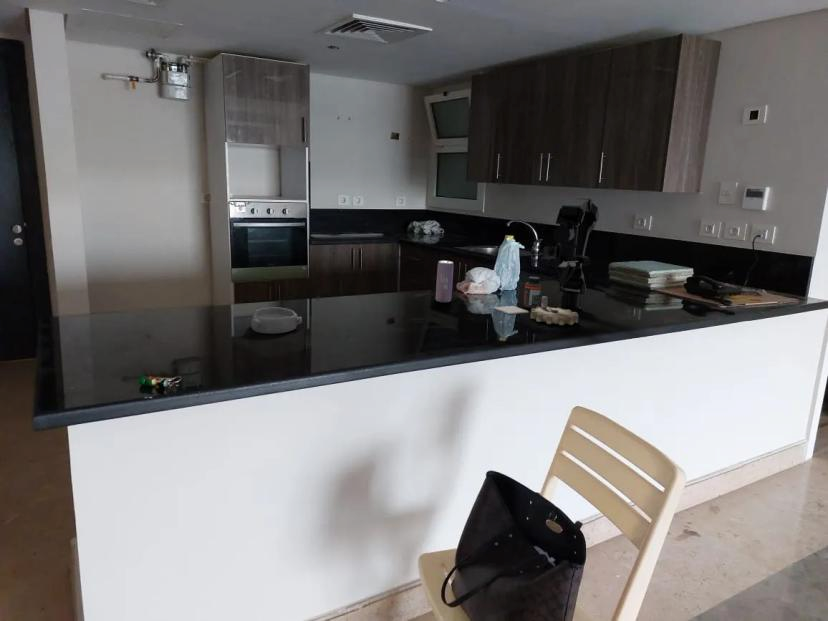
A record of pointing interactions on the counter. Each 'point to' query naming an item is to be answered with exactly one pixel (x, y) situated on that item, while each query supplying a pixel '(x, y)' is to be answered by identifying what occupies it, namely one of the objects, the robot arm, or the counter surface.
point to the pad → (511, 310)
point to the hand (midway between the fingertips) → (562, 285)
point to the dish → (274, 320)
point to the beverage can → (444, 281)
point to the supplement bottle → (532, 293)
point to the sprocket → (553, 314)
